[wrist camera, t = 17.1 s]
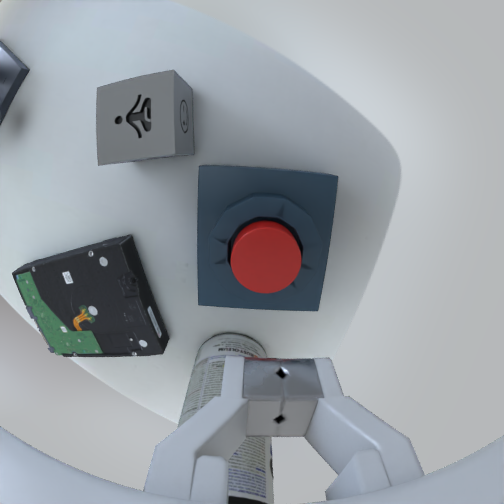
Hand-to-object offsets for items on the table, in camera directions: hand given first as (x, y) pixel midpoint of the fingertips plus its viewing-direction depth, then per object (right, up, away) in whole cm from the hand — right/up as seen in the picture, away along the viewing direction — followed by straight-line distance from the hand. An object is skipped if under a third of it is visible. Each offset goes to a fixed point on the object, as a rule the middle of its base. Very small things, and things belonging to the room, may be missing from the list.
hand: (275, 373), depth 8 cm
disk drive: (-16, -1, +15) cm, 22 cm away
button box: (0, +5, +13) cm, 14 cm away
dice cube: (-7, +13, +10) cm, 18 cm away
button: (0, +4, +10) cm, 10 cm away
